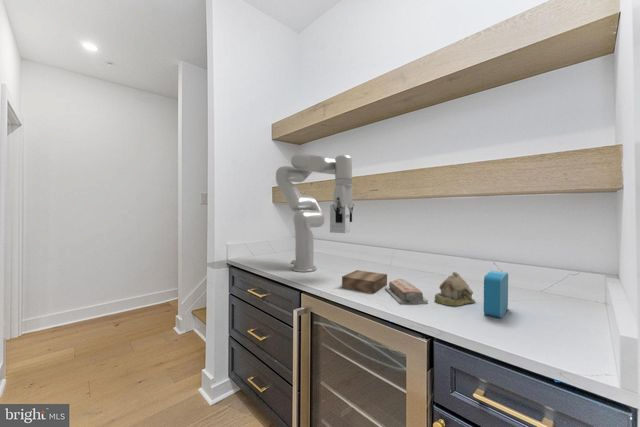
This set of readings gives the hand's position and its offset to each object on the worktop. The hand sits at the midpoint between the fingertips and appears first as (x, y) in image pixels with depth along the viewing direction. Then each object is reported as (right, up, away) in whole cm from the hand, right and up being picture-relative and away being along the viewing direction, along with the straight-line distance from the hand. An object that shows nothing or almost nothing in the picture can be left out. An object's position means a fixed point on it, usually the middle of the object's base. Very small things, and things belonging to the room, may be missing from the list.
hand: (344, 222), depth 122 cm
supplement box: (-2, -5, +1) cm, 5 cm away
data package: (+44, -27, -37) cm, 64 cm away
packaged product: (+21, -27, -21) cm, 40 cm away
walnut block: (+8, -27, -9) cm, 29 cm away
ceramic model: (+37, -27, -26) cm, 53 cm away
